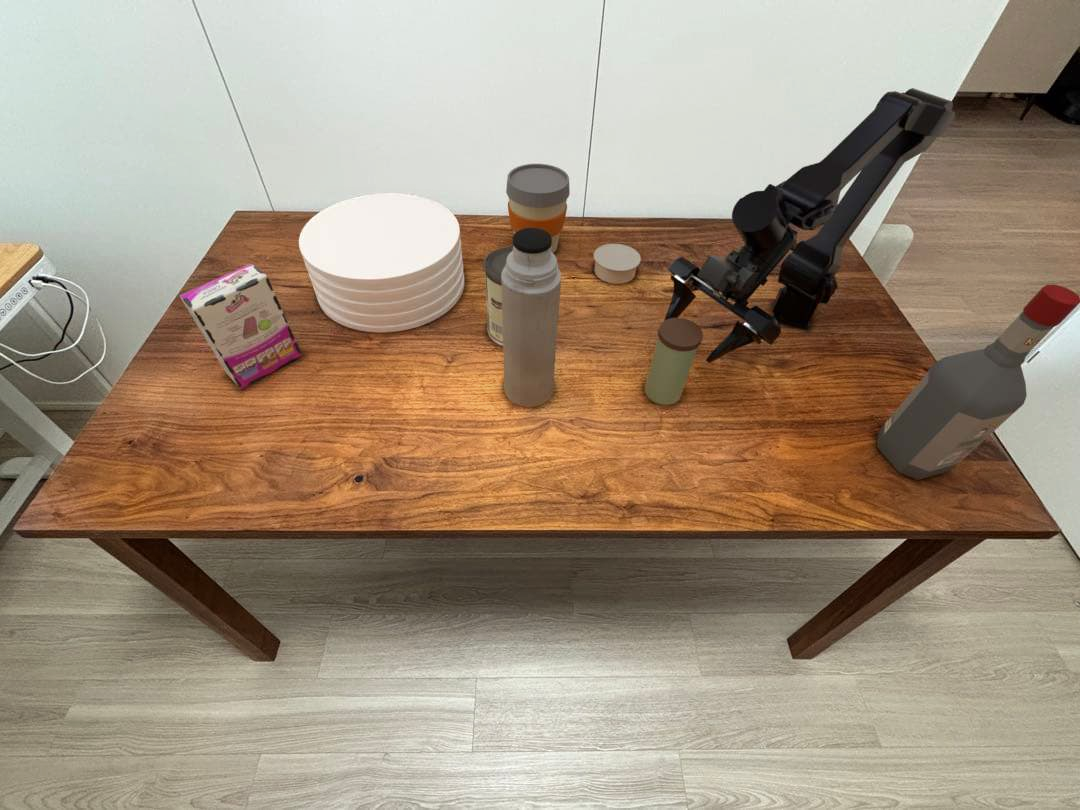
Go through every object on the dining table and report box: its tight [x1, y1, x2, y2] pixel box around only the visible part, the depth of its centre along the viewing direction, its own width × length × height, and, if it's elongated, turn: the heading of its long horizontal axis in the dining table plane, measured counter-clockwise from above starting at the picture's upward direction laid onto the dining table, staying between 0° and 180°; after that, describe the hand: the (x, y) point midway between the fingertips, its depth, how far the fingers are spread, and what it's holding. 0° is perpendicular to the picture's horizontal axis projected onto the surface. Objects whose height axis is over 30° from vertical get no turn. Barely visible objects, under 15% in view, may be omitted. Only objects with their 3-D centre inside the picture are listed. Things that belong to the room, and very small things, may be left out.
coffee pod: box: [593, 243, 641, 285], centre depth 109 cm, size 9×9×4 cm
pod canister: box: [644, 317, 704, 406], centre depth 83 cm, size 6×6×13 cm
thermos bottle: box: [501, 228, 562, 408], centre depth 77 cm, size 8×8×28 cm
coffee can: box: [483, 245, 513, 347], centre depth 92 cm, size 10×10×14 cm
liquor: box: [876, 284, 1080, 481], centre depth 70 cm, size 9×9×30 cm
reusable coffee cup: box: [505, 163, 571, 254], centre depth 109 cm, size 13×13×15 cm
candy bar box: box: [179, 263, 303, 390], centre depth 83 cm, size 11×5×16 cm, turn 137°
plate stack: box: [298, 192, 465, 333], centre depth 100 cm, size 28×28×12 cm
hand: (685, 344), depth 82 cm, fingers open, 9 cm apart
